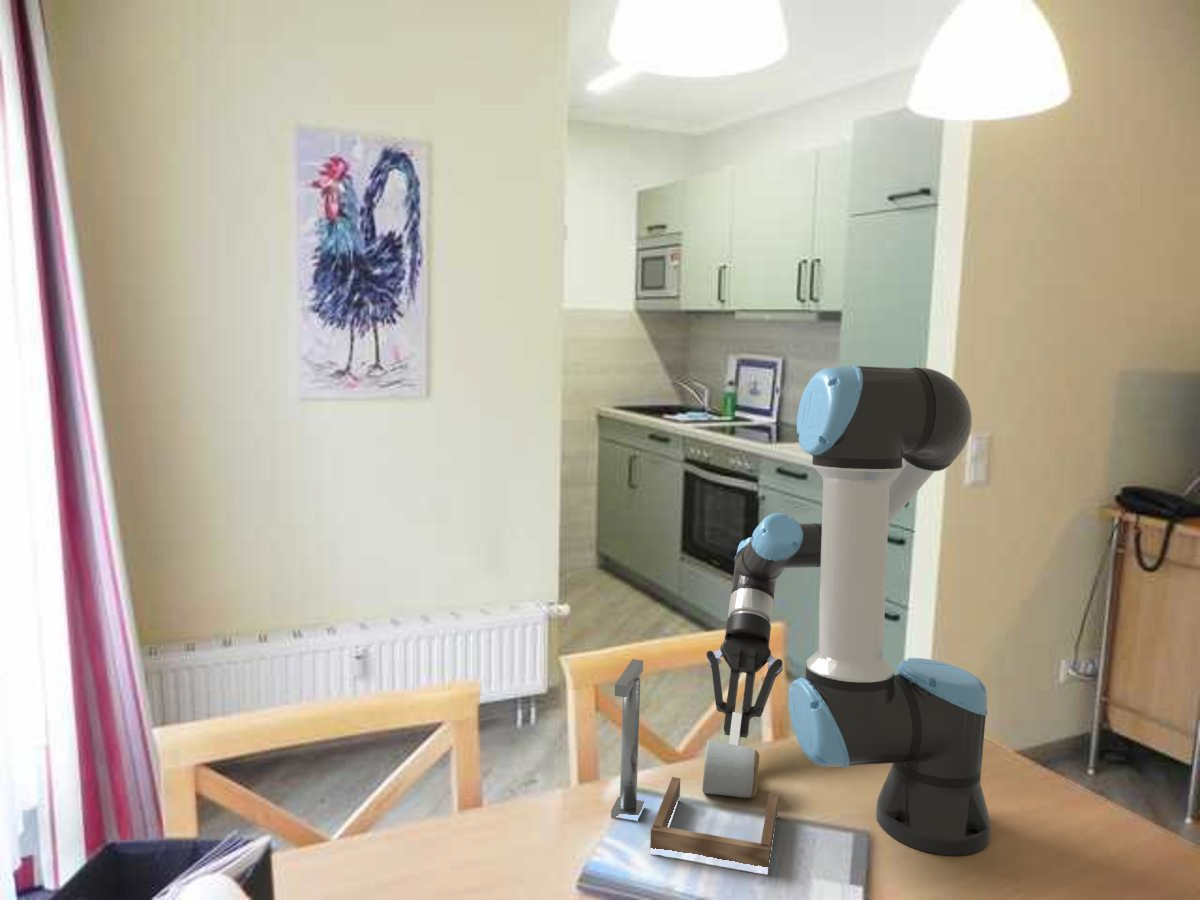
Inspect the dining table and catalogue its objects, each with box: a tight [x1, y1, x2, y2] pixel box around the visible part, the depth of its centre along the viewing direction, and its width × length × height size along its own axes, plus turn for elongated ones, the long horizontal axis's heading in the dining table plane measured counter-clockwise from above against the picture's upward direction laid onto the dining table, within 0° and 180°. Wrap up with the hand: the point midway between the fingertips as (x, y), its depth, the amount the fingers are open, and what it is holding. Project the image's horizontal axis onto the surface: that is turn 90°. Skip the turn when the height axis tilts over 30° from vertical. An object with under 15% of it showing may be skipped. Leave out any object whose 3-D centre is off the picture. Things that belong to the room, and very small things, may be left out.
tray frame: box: [649, 776, 779, 868], centre depth 121 cm, size 15×15×4 cm
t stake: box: [610, 658, 646, 819], centre depth 124 cm, size 4×10×22 cm, turn 164°
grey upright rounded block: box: [701, 739, 760, 799], centre depth 134 cm, size 11×8×8 cm
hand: (732, 755), depth 138 cm, fingers closed
